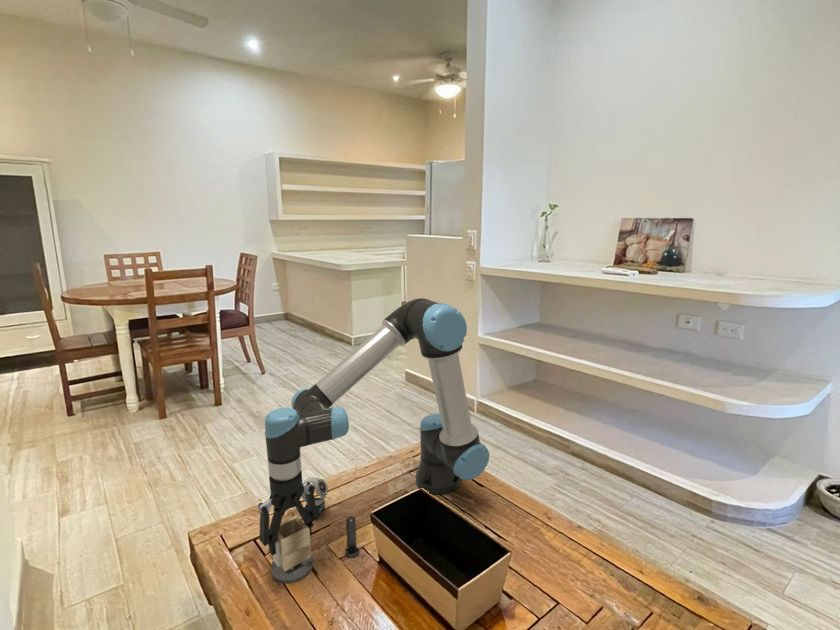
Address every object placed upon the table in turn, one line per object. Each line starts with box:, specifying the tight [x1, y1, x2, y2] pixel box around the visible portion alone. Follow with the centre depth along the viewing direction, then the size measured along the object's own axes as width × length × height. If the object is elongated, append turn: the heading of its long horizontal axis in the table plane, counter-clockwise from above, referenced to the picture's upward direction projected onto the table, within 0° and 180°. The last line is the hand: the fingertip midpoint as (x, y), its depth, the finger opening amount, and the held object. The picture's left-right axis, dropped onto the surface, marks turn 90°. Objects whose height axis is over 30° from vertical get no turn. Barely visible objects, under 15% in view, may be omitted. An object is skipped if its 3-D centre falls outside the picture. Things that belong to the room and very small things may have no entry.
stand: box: [344, 515, 360, 559], centre depth 115 cm, size 4×4×10 cm
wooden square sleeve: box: [277, 515, 312, 571], centre depth 110 cm, size 7×7×8 cm
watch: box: [301, 477, 329, 520], centre depth 131 cm, size 6×8×11 cm
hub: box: [270, 553, 314, 584], centre depth 110 cm, size 10×10×8 cm
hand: (291, 555), depth 110 cm, fingers closed on wooden square sleeve, 7 cm apart
